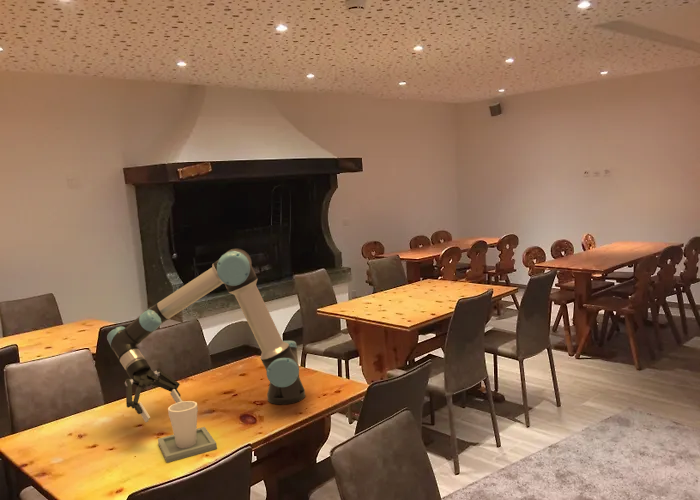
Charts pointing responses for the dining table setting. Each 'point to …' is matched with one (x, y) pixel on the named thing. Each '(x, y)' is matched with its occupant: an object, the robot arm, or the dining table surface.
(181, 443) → the foam cup
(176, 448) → the tray
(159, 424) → the dining table surface
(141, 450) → the dining table surface
